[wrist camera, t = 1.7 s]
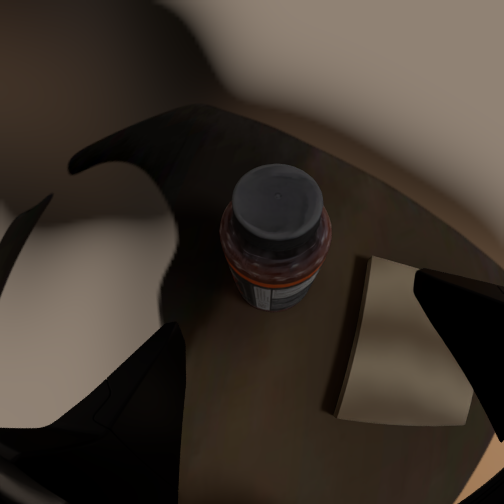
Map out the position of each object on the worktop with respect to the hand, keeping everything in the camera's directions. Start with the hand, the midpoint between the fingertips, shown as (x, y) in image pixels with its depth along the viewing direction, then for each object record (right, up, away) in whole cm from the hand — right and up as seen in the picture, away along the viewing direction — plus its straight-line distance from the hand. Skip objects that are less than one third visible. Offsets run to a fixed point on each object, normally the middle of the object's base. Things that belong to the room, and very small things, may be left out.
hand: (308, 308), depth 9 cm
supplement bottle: (0, 0, +13) cm, 13 cm away
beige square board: (+12, -6, +9) cm, 17 cm away
